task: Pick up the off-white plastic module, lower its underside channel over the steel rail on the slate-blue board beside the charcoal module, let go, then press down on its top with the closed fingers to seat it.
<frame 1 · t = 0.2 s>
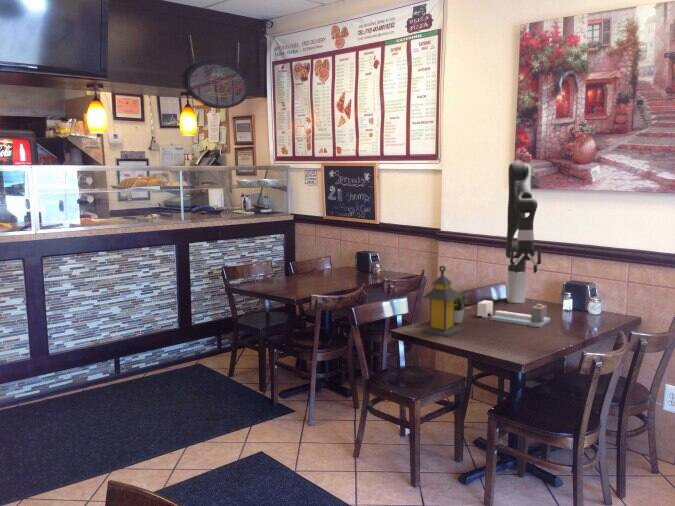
hand: (525, 273, 291), 22 cm above the table, tool pointing down, fingers open, 8 cm apart
lantern: (441, 331, 273), on the table
house plant: (457, 322, 287), on the table
din module: (485, 315, 300), on the table
rail board: (520, 320, 289), on the table
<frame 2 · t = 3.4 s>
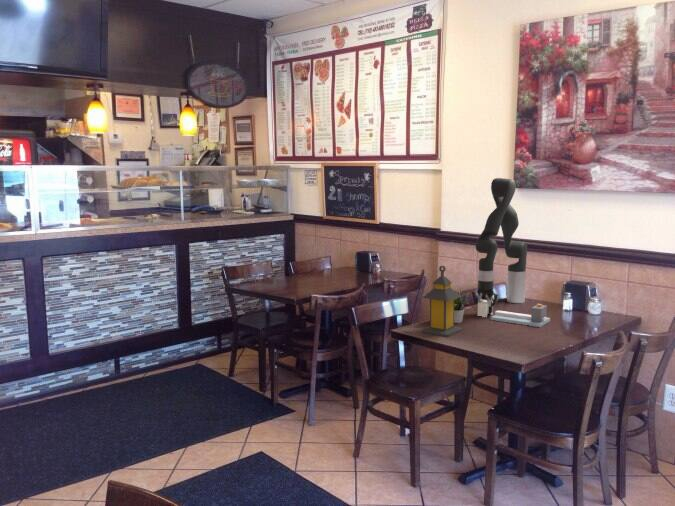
hand: (485, 312, 300), 1 cm above the table, tool pointing down, fingers closed on din module, 4 cm apart
din module: (485, 315, 300), on the table, touching gripper
everything else where it was.
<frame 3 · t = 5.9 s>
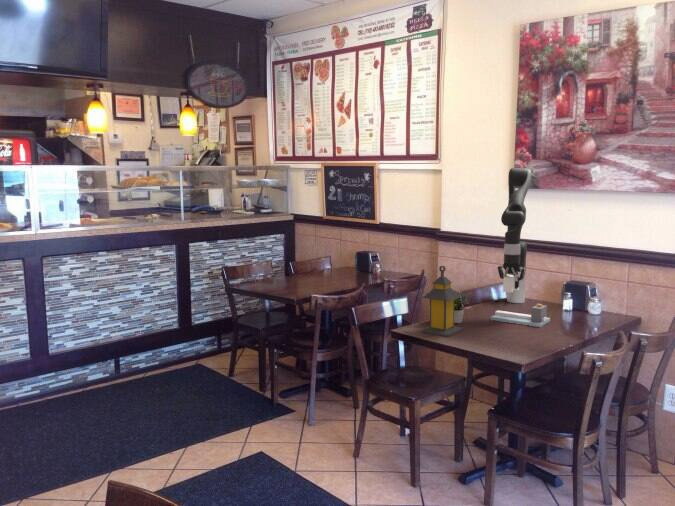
hand: (511, 287, 289), 16 cm above the table, tool pointing down, fingers closed on din module, 4 cm apart
din module: (511, 290, 290), point 14 cm above the table, touching gripper
everything else where it was.
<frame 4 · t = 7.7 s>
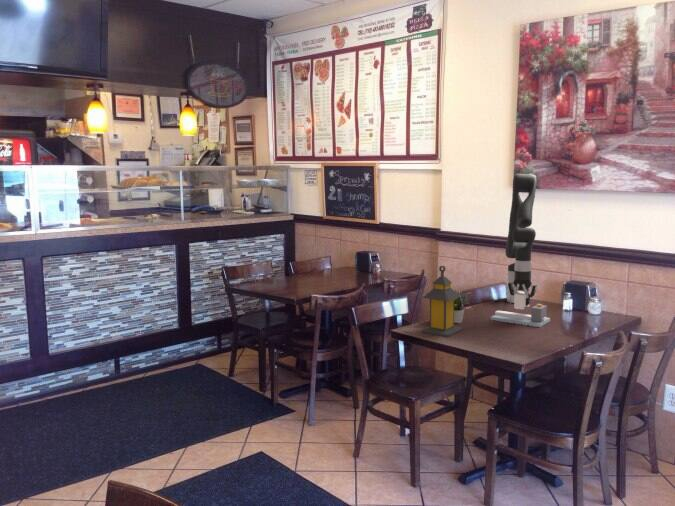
hand: (521, 304, 288), 8 cm above the table, tool pointing down, fingers closed on din module, 4 cm apart
din module: (521, 307, 288), point 7 cm above the table, touching gripper
everything else where it was.
when the fingers open (4 cm above the table, at t = 8.9 s): din module stays where it is, resting on rail board.
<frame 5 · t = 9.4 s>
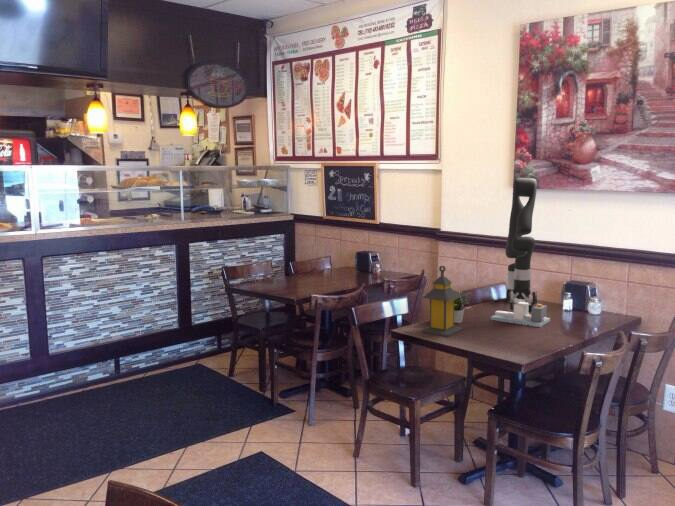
hand: (521, 311, 288), 5 cm above the table, tool pointing down, fingers open, 8 cm apart
din module: (521, 317, 289), point 1 cm above the table, touching rail board
everything else where it was.
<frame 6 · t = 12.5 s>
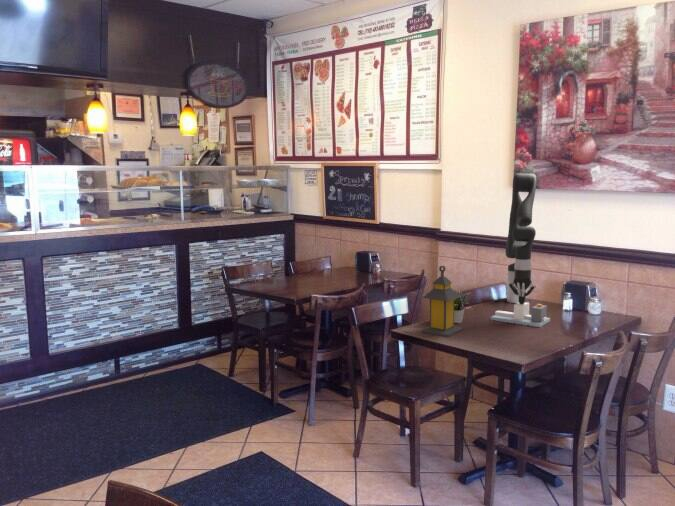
hand: (521, 303, 288), 8 cm above the table, tool pointing down, fingers closed
din module: (521, 317, 289), point 1 cm above the table, touching gripper, rail board
everything else where it was.
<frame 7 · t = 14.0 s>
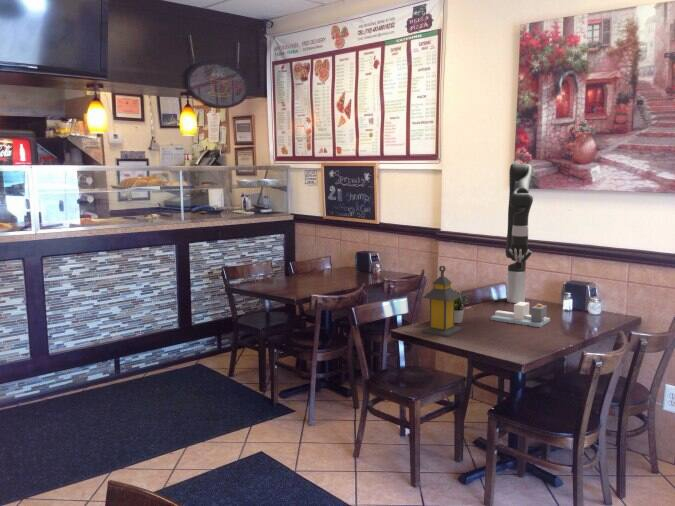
hand: (518, 269, 293), 24 cm above the table, tool pointing down, fingers closed
din module: (521, 317, 289), point 1 cm above the table, touching rail board
everything else where it was.
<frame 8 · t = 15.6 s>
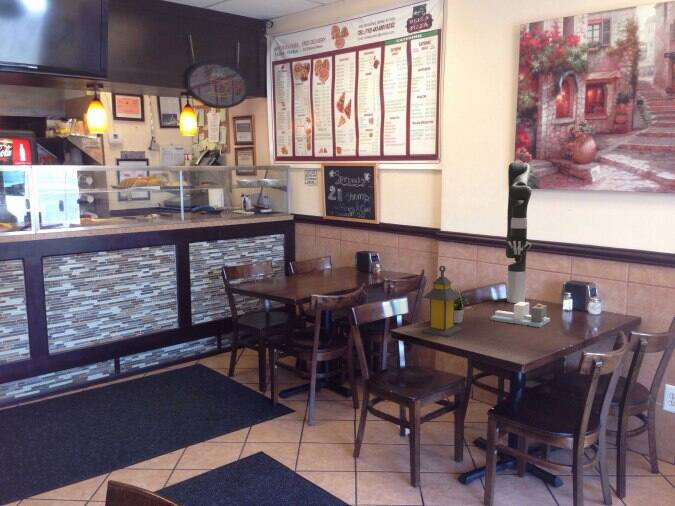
hand: (517, 262, 295), 27 cm above the table, tool pointing down, fingers closed
nothing on the table moved.
at the end: din module 0.5 cm off-centre on the rail board, point 1.5 cm above the rail board's base; din module tilted 0°; the gripper is holding nothing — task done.
